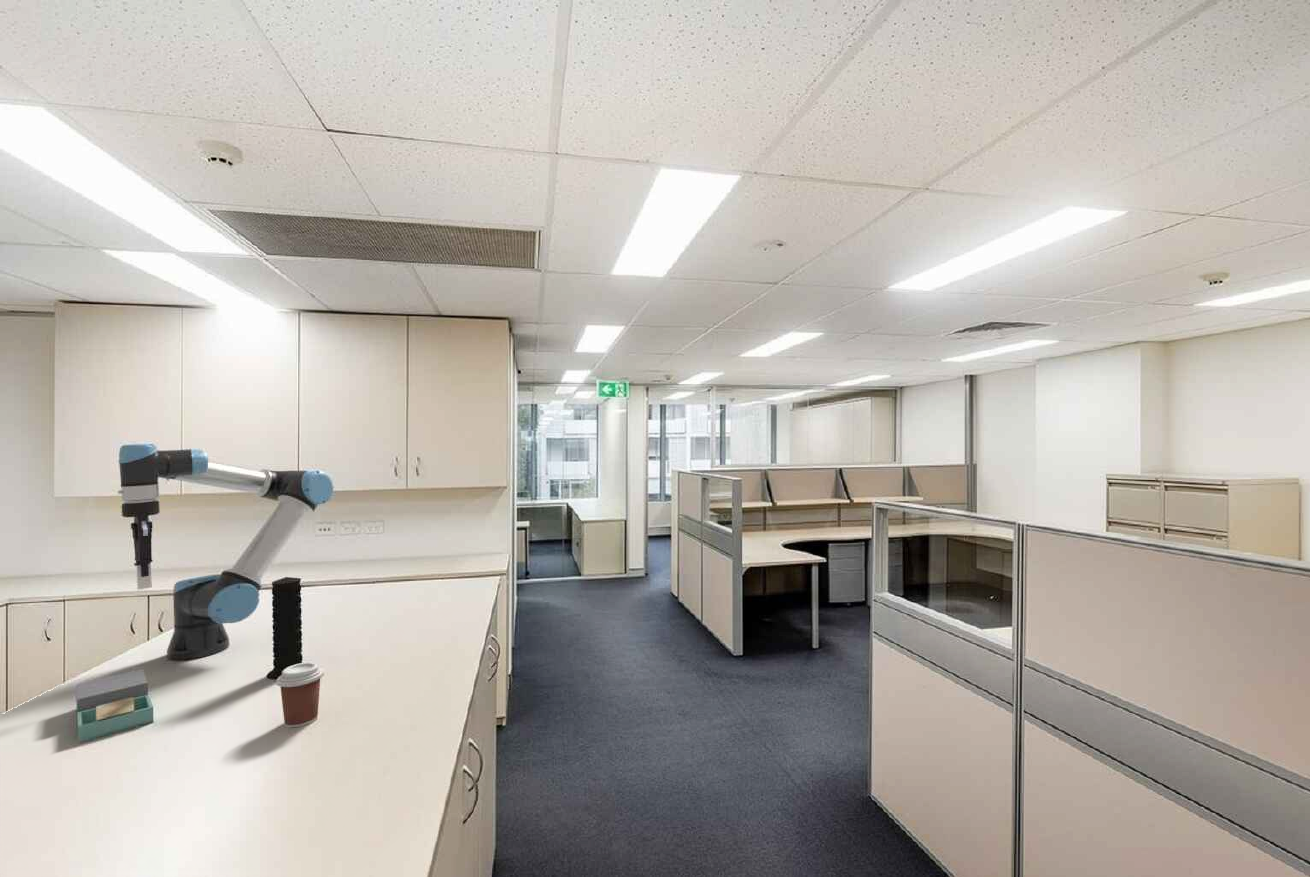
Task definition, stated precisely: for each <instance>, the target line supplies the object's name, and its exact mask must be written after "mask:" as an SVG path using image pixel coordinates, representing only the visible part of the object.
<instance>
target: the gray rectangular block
mask: <svg viewBox="0 0 1310 877" xmlns="http://www.w3.org/2000/svg"><path fill="white" fill-rule="evenodd" d="M75 686H76V687H75V688H76V691H75V692H76V693H75V694H76V695H75V696H76V697H75V698H76V699H75V700H76V701H75V702H76V723H77V726H78V712H82V711H86V710H90V709H94V708H96V706H99V705H103V704H107V703H111V702H115V701H119V700H123V699H127V698H131V697H133V698H137V697H141V696H145V695H149V682H148V680H147V676H146V674H145V672H144V670H143V668H141V669H136V670H134V671H128V672H123V673H120V674H115V675H111V676H107V677H102V678H97V679H93V680H89V681H84V682H80V683H76V685H75Z"/></svg>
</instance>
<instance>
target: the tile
mask: <svg viewBox="0 0 1310 877" xmlns="http://www.w3.org/2000/svg"><path fill="white" fill-rule="evenodd" d="M133 711H134V699H133V697H131V698H127V699H123V700H119V701H115V702H111V703H107V704H103V705H99V706H96V721H99V720H103V719H107V718H110V717H114V716H118V715H122V714H126V713H129V712H133Z"/></svg>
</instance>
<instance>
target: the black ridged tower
mask: <svg viewBox="0 0 1310 877" xmlns="http://www.w3.org/2000/svg"><path fill="white" fill-rule="evenodd" d="M301 580H302V578H300V577H292V576H290V577H289V576H285V577H282V578H280V579H276V580H274V581H272V582H271V585H272V586H271V587H272V588H271V594H272V597H271V599H272V602H271V605H272V609H271V610H272V613H271V614H272V615H271V616H272V634H273V636H272V642H273V643H272V646H273V647H272V653H273V656H272V657H273V661H272V665H273V668H272V670H270V671H268V673H267V674H266V676H265V677H266V679H268V680H276V679H278V678H279V677H280V676H281V675H282V671H283V670H284V669H285V668H287V667H289V666H292V665H295V664H300V663H304V662H303V649H302V648H303V643H302V641H303V638H302V636H303V631H302V629H303V627H302V624H303V621H302V597H301V595H302V592H301V591H302V584H301Z"/></svg>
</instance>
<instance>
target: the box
mask: <svg viewBox="0 0 1310 877" xmlns="http://www.w3.org/2000/svg"><path fill="white" fill-rule="evenodd" d="M133 699H134V711H133V712H129V713H126V714H122V715H118V716H114V717H110V718H107V719H103V720H99V721H96V708H94V709H90V710H86V711H82V712H78V725H77V739H78V744H81V743H85V742H88V741H92V740H95V738H96V739H99V738H98V737H100V738H102V737H106V735H107V736H109V734H110V735H113V734H112V733H114V734H116V733H115V732H117V733H120V732H124V731H128V730H131V728H132V729H135V728H137V727H136V726H139V727H142V726H145V725H149V724H152V723H153V724H154V705H153V702H152V700H151V698H150V695H149V694H148V695H145V696H141V697H137V698H133ZM134 727H135V728H134Z"/></svg>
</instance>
